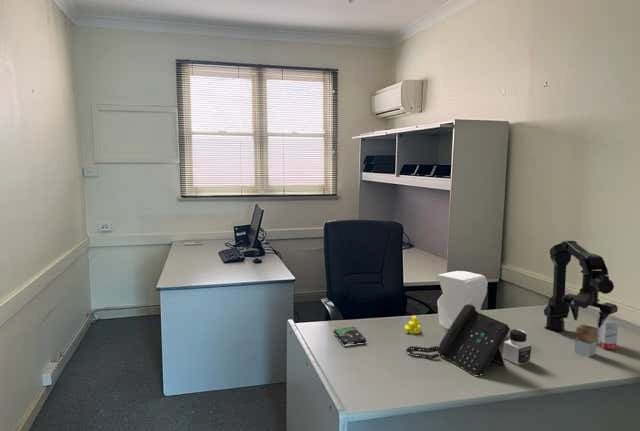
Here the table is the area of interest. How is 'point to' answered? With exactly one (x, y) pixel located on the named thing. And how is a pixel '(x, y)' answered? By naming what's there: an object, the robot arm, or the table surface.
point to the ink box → (607, 334)
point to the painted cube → (585, 348)
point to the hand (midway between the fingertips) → (587, 323)
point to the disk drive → (349, 335)
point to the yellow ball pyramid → (412, 325)
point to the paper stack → (459, 294)
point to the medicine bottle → (517, 347)
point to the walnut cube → (586, 334)
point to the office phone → (471, 341)
